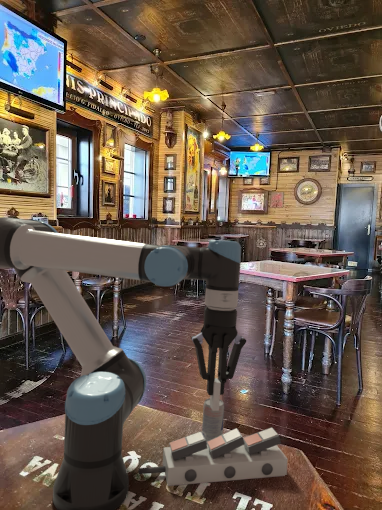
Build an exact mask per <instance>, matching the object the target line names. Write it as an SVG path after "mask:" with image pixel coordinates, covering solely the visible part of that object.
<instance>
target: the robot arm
mask: <svg viewBox="0 0 382 510" xmlns="http://www.w3.org/2000/svg"><path fill="white" fill-rule="evenodd" d="M241 256H242V246H241V244H240V242H239V241H235V240H234V241H233V240H222V239H221V240H219V239H211V240H209V241H208V245H207V247H195V246H185V245H184V246H183V245H173V244H170V245H159V244H148V243H143V242H133V241H126V240H116V239H110V238H101V237H92V236H84V235H76V234H75V235H74V234H68V233H59V232H58V231H57V230H56V229H55V227H54V226H52V225H50V224H49V223H47V222H43V221H41V220H38V219H30V218H29V219H21V218H16V217H15V218H14V217H13V218H12V217H7V216H5V217H4V216H3V217H0V269H14V271H15V273H16V274H17V276H18V277H19V279H20V281H21V282H22V283H23V282H25V283H29V284H30V285H31V286H32V288H33V289H34V291H35V292H36V294H37V296H38V297H39V298H40V299H39V300H41V302H42V304H43V305H44V307H45V309H46V310H47V312H48V314H49V315H50V317H51V319H52V320H53V321H54V324H55V325H56V326H57V329H58V330H59V332H60V333H61V334H62V337H63V338H64V340H65V341H66V343H67V345H68V347H69V348H70V349H71V351H72V353H73V354H74V356H75V357H76V359H77V361H78V362H79V364H80V366H81V373H80V376H79V377H77V378H75V379H74V380H73V381H72V382H71V384H70V385H69V387H68V389H67V391H66V397H65V398H66V399H65V401H64V413H65V416H64V440H63V442H64V443H63V459H62V462H61V465H60V466H59V467H60V468H59V469H58V472H57V476H56V478H55V480H54V483H53V487H52V488H53V490H52V502H53V505H54V508H55V509H56V510H116V509H118V508H119V507H120V506H121V505H122V504H124V502H125V500H126V499H127V497H128V494H129V483H130V482H129V481H130V480H129V474H128V471H127V468H126V464H125V460H124V457H123V453H122V452H123V450H122V449H123V434H124V431H123V430H124V424H125V422H126V421H127V419H128V418H129V416H130V415H131V414H132V412H133V411H134V409H135V408H136V407H137V406H138V405H139V403H140V402H141V401H142V399H143V396H144V393H146V392H145V391H146V389H147V376H146V372H145V370H144V368H143V366H142V365H141V364H140V363H139V362H138V361H136V360H135V359H134V358H133V359H132V358H130V357H128V356H127V354H126V353H125V351H124V349H123V348H120V347H116V346H114V345H113V343H112V342H111V341H110V338H109V337H108V336H107V334H106V333H105V331H104V329H103V328H102V326H101V324H100V323H99V321H98V319H96V316H95V315H94V314H93V312H92V310H91V309H90V306H89V305H88V303H87V302H86V300H85V299H84V297H83V295H82V294H81V292H80V290H79V289H78V288H77V286H76V284H75V283H74V280H72V278H71V276H70V274H69V273H68V272H74V273H81V274H91V275H99V276H106V277H112V278H113V277H114V278H120V279H127V280H128V279H129V280H135V281H142V282H148V283H153V285H156V286H159V287H173V286H175V285H177V284H179V283H181V281H182V280H198V281H205V283H206V284H205V295H204V305H205V307H204V308H203V309H204V311H203V323H202V325H203V326H202V328H201V329H200V332H199V333H198V334H196V335H192V336H191V338H190V339H191V341H192V344H193V345H194V349H195V354H196V361H197V365H198V370H199V375H200V377H201V378H202V379H203V380H204V381H206V382H207V383H206V393H207V395H208V396H209V398H210V407H211V409H212V410H213V411H219V402H220V400H221V398H220V397H221V396H223V395H224V394H225V384H226V383H227V380H232V379H233V378H234V376H235V372H236V369H237V365H238V362H239V359H240V355H241V352H242V349H243V348H244V346H245V344H246V343H247V339H246V338H245V337H244V336H242V335H240V334H238V330H237V320H238V319H237V318H238V311H237V309H236V308H237V307H238V303H239V301H238V300H239V288H240V287H239V286H240V275H241V263H242V262H241ZM203 339H204V340H205V342H206V344H207V345H208V346H207V347H208V348H207V349H208V355H207V367H206V362H205V361H206V360H205V355H204V350H203V346H202V345H203V342H204V341H203ZM233 342H234V343H233ZM232 343H233V344H232ZM231 344H232V345H233V346H232V349H231V352H230V354H229V355H230V356H229V359H228V353H229V347H230V345H231ZM218 350H219V351H218ZM217 353H218V364H217ZM216 365H218V367H217V366H216ZM216 367H217V377H216Z"/></svg>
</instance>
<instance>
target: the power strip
mask: <svg viewBox="0 0 382 510" xmlns="http://www.w3.org/2000/svg"><path fill="white" fill-rule="evenodd" d="M159 473H161V474H163V473H164V476H165V480H166V485H167V486H169V487H171V486H180V485H193V484H204V483H217V482H228V481H240V480H248V479H263V478H264V479H265V478H272V477H275V478H276V477H285V475H288V457H287V456H286V455H285V453H284V452H283V451H282V450H281V448H279V446H278V445H275V446H273V447H270V448H268V449H265V450H262V451H260V452H257V453H254V454H252V455H250V454H249V453H248V451H247V450H246V448H245V447H244V445H242V446H240V447H238V448H236V449H234V450H232V451H230V452H228V453H225V454H223V455H221V456H219V457H217V458H215V459H213V457H212V455H211V453H210V450H209V448H208V445H207V449H204V450H202V451H199V452H196V453H193V454H191V455H188V456H185V457H183V458H180V459H177V460H173V456H172V452H171V449H170V446H167V447H165V446H164V447H163V451H162V466H151V467H138V475H149V474H159Z"/></svg>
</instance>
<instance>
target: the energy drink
mask: <svg viewBox="0 0 382 510" xmlns="http://www.w3.org/2000/svg"><path fill="white" fill-rule="evenodd" d="M202 409H203V411H202V424H201V425H202V426H201V429H202V430H201V431H202V434H203V436H204V438H205V440H206V444H207V441H209V440H212V439H214V438H216V437H218V436H220V435H222V434H224V433H223V432H224V418H225V417H224V416H225V404H224V401H223V400H221V399H220V402H219V411H213V410H212V409H211V407H210V397H209V398H206V399H205V400H204V402H203V407H202Z"/></svg>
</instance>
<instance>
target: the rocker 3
mask: <svg viewBox="0 0 382 510" xmlns="http://www.w3.org/2000/svg"><path fill="white" fill-rule="evenodd" d="M243 440H244V443H245V444H244V447H245V448H246V450H247V451H248V453H249V454H250V455H252V454H254V453H257V452H260V451H262V450H265V449H268V448H270V447H273V446H275V445H277V446H278V445H280V444H282V442H281V438H280V435H279V433H278V432H277V430H275V429H274V428H273V426H272V427H269V428H266V429H263V430H261V431H258V432H255V433H252V434H250V435H247V436H244V437H243Z"/></svg>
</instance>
